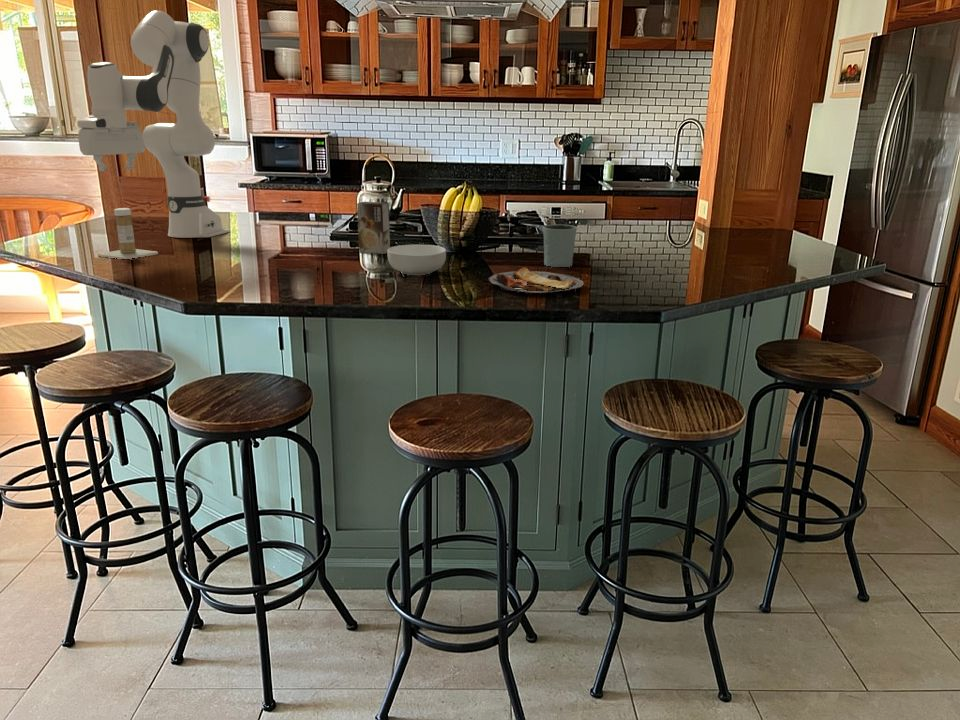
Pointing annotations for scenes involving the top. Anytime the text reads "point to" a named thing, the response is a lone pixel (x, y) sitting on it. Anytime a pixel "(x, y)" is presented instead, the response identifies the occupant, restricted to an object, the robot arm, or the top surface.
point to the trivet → (128, 254)
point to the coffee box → (373, 227)
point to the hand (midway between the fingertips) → (116, 170)
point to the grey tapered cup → (559, 245)
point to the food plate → (535, 280)
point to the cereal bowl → (416, 258)
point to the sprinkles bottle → (125, 230)
